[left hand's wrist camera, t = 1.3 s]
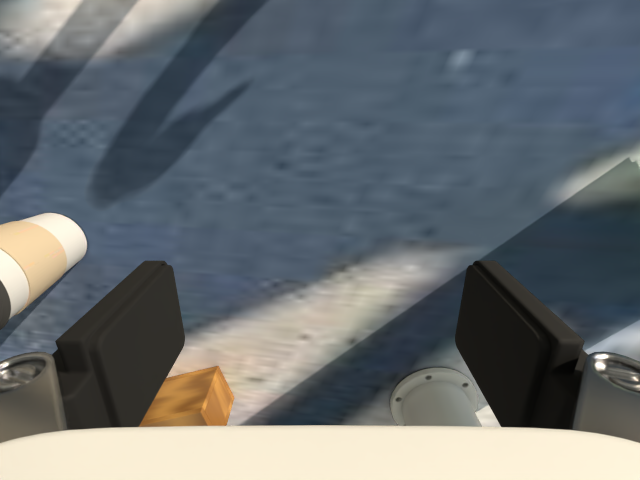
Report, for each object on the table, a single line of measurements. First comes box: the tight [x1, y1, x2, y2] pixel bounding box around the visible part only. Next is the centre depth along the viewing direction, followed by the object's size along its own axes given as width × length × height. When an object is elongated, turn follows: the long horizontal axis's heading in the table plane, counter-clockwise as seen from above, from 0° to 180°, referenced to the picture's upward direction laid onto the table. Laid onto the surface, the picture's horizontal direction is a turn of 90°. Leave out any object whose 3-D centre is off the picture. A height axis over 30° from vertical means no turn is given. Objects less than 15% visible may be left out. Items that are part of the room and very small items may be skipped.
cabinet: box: [139, 366, 234, 427], centre depth 47 cm, size 18×6×8 cm, turn 106°
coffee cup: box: [0, 213, 87, 330], centre depth 34 cm, size 9×9×15 cm
